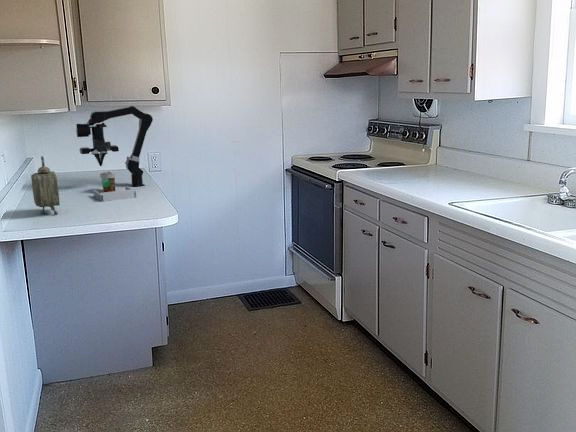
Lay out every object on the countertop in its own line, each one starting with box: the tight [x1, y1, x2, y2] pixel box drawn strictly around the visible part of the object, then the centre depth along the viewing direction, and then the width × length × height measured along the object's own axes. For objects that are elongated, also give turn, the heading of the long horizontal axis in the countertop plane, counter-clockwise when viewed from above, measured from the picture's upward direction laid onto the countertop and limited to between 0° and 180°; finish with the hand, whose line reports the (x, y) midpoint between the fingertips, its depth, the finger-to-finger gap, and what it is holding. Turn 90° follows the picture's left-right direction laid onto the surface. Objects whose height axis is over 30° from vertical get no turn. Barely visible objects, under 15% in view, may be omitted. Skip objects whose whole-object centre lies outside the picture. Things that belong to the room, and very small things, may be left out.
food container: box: [99, 170, 116, 193], centre depth 294 cm, size 12×6×10 cm, turn 27°
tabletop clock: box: [30, 155, 61, 216], centre depth 248 cm, size 14×9×25 cm, turn 28°
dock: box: [92, 185, 137, 202], centre depth 283 cm, size 15×17×4 cm
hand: (100, 166), depth 300 cm, fingers closed
